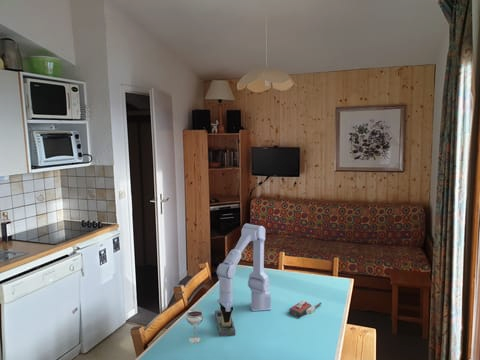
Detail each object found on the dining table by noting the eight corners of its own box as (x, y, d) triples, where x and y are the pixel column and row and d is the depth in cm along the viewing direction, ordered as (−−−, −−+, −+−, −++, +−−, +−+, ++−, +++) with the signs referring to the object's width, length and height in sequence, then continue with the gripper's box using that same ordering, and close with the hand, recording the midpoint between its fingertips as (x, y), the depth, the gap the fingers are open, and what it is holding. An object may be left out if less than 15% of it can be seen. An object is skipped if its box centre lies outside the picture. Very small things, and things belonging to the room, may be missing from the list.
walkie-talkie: (302, 321, 176) (322, 306, 192) (302, 312, 176) (323, 298, 191) (286, 315, 182) (307, 301, 197) (287, 306, 182) (308, 293, 197)
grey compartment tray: (229, 313, 183) (229, 309, 182) (235, 335, 163) (235, 330, 163) (214, 314, 182) (214, 310, 181) (219, 336, 162) (219, 332, 162)
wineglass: (189, 345, 155) (189, 318, 153) (185, 337, 161) (184, 311, 160) (205, 342, 157) (205, 315, 156) (200, 334, 164) (200, 308, 162)
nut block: (229, 321, 169) (229, 311, 169) (230, 326, 165) (230, 315, 165) (220, 322, 169) (220, 311, 168) (221, 326, 165) (221, 316, 164)
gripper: (215, 284, 172) (215, 312, 173) (218, 298, 157) (218, 328, 159) (230, 283, 173) (230, 311, 174) (235, 296, 159) (235, 327, 160)
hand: (225, 319), depth 167 cm, fingers closed on nut block, 4 cm apart
